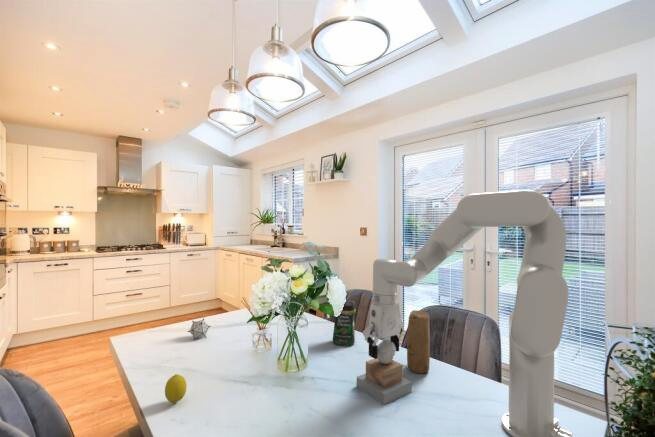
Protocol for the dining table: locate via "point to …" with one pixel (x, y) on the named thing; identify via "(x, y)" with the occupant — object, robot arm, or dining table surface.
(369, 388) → the slate plinth
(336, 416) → the dining table surface
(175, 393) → the lemon
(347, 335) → the coffee jar
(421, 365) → the block
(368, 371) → the walnut block
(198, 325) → the grey spiky faceted part
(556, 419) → the robot arm
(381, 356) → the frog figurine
